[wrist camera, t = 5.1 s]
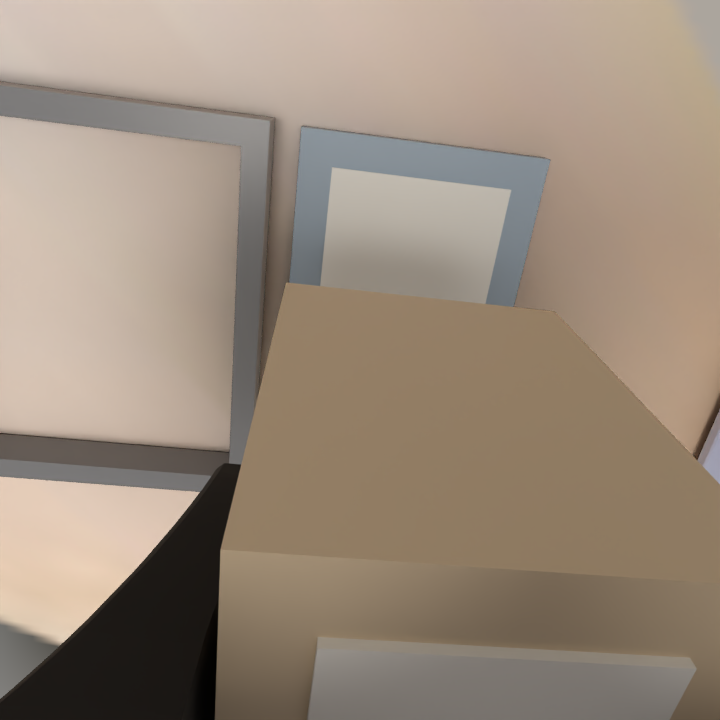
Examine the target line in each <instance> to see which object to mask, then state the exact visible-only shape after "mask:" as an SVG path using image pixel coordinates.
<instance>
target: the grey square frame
mask: <svg viewBox="0 0 720 720" xmlns="http://www.w3.org/2000/svg"><path fill="white" fill-rule="evenodd" d="M0 116H8V117H15V118H23V119H31V120H39V121H47V122H55V123H63V124H70V125H78V126H86V127H94V128H102V129H110V130H118V131H125V132H133V133H141V134H149V135H157V136H165V137H173V138H180V139H188V140H196V141H204V142H212V143H220V144H228V145H235V146H241V165H240V192H239V218H238V245H237V271H236V297H235V324H234V350H233V377H232V403H231V430H230V453H226V452H214V451H202V450H190V449H178V448H166V447H154V446H142V445H130V444H118V443H106V442H94V441H82V440H70V439H58V438H46V437H33V436H21V435H9V434H0V476H1V477H14V478H27V479H40V480H52V481H65V482H78V483H91V484H104V485H117V486H130V487H143V488H156V489H169V490H182V491H195V492H201V490H202V489H203V488H204V486H205V485H206V483H207V482H208V481H209V479H210V478H211V476H212V475H213V473H214V472H215V470H216V469H217V468H218V467H220V466H221V465H222V464H224V463H229V464H242V460H243V456H244V452H245V448H246V443H247V439H248V435H249V431H250V427H251V423H252V419H253V415H254V411H255V407H256V403H257V399H258V395H259V381H260V364H261V347H262V331H263V314H264V297H265V280H266V264H267V247H268V230H269V213H270V197H271V180H272V163H273V146H274V130H275V118H273V117H265V116H258V115H250V114H242V113H235V112H227V111H220V110H212V109H205V108H197V107H189V106H182V105H174V104H167V103H159V102H152V101H144V100H136V99H129V98H121V97H114V96H106V95H98V94H91V93H83V92H76V91H68V90H61V89H53V88H45V87H38V86H30V85H23V84H15V83H8V82H0Z"/></svg>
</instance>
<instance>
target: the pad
mask: <svg viewBox="0 0 720 720" xmlns="http://www.w3.org/2000/svg"><path fill="white" fill-rule="evenodd" d="M549 163H550V159H547V158H543V157H535V156H528V155H520V154H512V153H505V152H497V151H489V150H482V149H474V148H467V147H459V146H451V145H444V144H436V143H429V142H421V141H413V140H406V139H398V138H390V137H383V136H375V135H368V134H360V133H352V132H345V131H337V130H330V129H322V128H314V127H307V126H302V127H301V139H300V152H299V165H298V177H297V190H296V203H295V216H294V229H293V242H292V255H291V268H290V280H289V283H296V284H305V285H315V286H324V287H333V288H342V289H352V290H361V291H370V292H379V293H389V294H398V295H407V296H416V297H426V298H435V299H444V300H454V301H463V302H472V303H481V304H491V305H500V306H509V307H514V304H515V300H516V296H517V292H518V288H519V284H520V280H521V276H522V272H523V268H524V264H525V260H526V256H527V251H528V247H529V243H530V239H531V235H532V231H533V227H534V223H535V219H536V215H537V211H538V207H539V203H540V199H541V195H542V191H543V187H544V183H545V179H546V175H547V171H548V167H549Z"/></svg>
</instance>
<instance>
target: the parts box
mask: <svg viewBox="0 0 720 720" xmlns="http://www.w3.org/2000/svg"><path fill="white" fill-rule="evenodd" d="M215 720H720V484H719V483H718V482H717V481H716V480H715V479H714V478H713V477H712V476H711V475H710V473H709V472H708V471H707V470H706V469H705V468H704V467H703V466H702V465H701V464H700V463H699V462H698V461H697V460H696V459H695V458H694V457H693V456H692V455H691V454H690V453H689V451H688V450H687V449H686V448H685V447H684V446H683V445H682V444H681V443H680V442H679V441H678V440H677V439H676V438H675V437H674V436H673V435H672V434H671V433H670V432H669V431H668V429H667V428H666V427H665V426H664V425H663V424H662V423H661V422H660V421H659V420H658V419H657V418H656V417H655V416H654V415H653V414H652V413H651V412H650V411H649V410H648V409H647V407H646V406H645V405H644V404H643V403H642V402H641V401H640V400H639V399H638V398H637V397H636V396H635V395H634V394H633V393H632V392H631V391H630V390H629V389H628V388H627V387H626V385H625V384H624V383H623V382H622V381H621V380H620V379H619V378H618V377H617V376H616V375H615V374H614V373H613V372H612V371H611V370H610V369H609V368H608V367H607V366H606V365H605V363H604V362H603V361H602V360H601V359H600V358H599V357H598V356H597V355H596V354H595V353H594V352H593V351H592V350H591V349H590V348H589V347H588V346H587V345H586V344H585V343H584V342H583V340H582V339H581V338H580V337H579V336H578V335H577V334H576V333H575V332H574V331H573V330H572V329H571V328H570V327H569V326H568V325H567V324H566V323H565V322H564V321H563V320H562V318H561V317H560V316H559V315H558V314H557V313H556V312H555V311H546V310H537V309H528V308H518V307H509V306H500V305H491V304H481V303H472V302H463V301H454V300H444V299H435V298H426V297H416V296H407V295H398V294H389V293H379V292H370V291H361V290H352V289H342V288H333V287H324V286H315V285H305V284H296V283H287V282H286V285H285V289H284V293H283V297H282V301H281V305H280V309H279V313H278V317H277V321H276V325H275V329H274V333H273V338H272V342H271V346H270V350H269V354H268V358H267V362H266V366H265V370H264V374H263V378H262V382H261V386H260V390H259V395H258V399H257V403H256V407H255V411H254V415H253V419H252V423H251V427H250V431H249V435H248V439H247V443H246V448H245V452H244V456H243V460H242V464H241V468H240V472H239V476H238V480H237V484H236V488H235V492H234V496H233V501H232V505H231V509H230V513H229V517H228V521H227V525H226V529H225V533H224V537H223V541H222V545H221V549H220V579H219V609H218V639H217V670H216V700H215Z"/></svg>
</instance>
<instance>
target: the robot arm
mask: <svg viewBox="0 0 720 720" xmlns="http://www.w3.org/2000/svg"><path fill="white" fill-rule="evenodd" d="M697 461H698V462H699V463H700V464H701V465H702V466H703V467H704V468H705V469H706V470H707V471H708V472H709V473H710V475H711V476H712V477H713V478H714V479H715V480H716V481H717V482H718V483H719V484H720V410H719V412H718V415H717V417H716V419H715V421H714V424H713V426H712V428H711V430H710V433H709V435H708V437H707V440H706V442H705V444H704V446H703V449H702V451H701V453H700V455H699V458H698V460H697ZM240 468H241V464H229V463H224V464H222V465H221V466H220V467H218V468H217V469H216V470H215V472H214V473H213V475H212V476H211V478H210V479H209V481H208V482H207V483H206V485H205V486H204V488H203V489H202V490H201V492H200V493H199V494H198V496H197V497H196V498H195V500H194V501H193V502H192V504H191V505H190V506H189V507H188V509H187V510H186V511H185V513H184V514H183V515H182V516H181V518H180V519H179V520H178V521H177V523H176V524H175V525H174V526H173V527H172V528H171V530H170V531H169V532H168V533H167V534H166V535H165V537H164V538H163V539H162V540H161V541H160V542H159V544H158V545H157V546H156V547H155V548H154V549H153V551H152V552H151V553H150V554H149V555H148V556H147V558H146V559H145V560H144V561H143V562H142V563H141V564H140V565H139V566H138V568H137V569H136V570H135V571H134V572H133V573H132V574H131V575H130V576H129V577H128V578H127V579H126V580H125V581H124V582H123V583H122V584H121V585H120V586H119V587H118V589H117V590H116V591H115V592H114V593H113V594H112V595H111V596H110V597H109V598H108V599H107V600H106V601H105V602H104V603H103V604H102V605H101V606H100V607H99V608H98V609H97V610H96V611H95V612H94V613H93V614H92V615H91V616H90V617H89V618H88V619H87V620H86V621H85V622H84V623H83V624H82V625H81V626H80V627H79V628H78V629H77V630H76V631H75V632H74V633H73V634H72V635H71V636H70V637H69V638H68V639H67V640H66V641H65V642H64V643H62V644H61V645H60V646H59V647H58V648H57V649H56V650H55V651H54V652H53V653H52V654H51V655H50V656H48V658H46V659H45V660H44V661H43V662H42V663H41V664H40V665H38V667H36V668H35V669H34V670H33V671H32V672H31V673H30V674H29V675H27V676H26V677H25V678H24V679H23V680H22V681H21V682H19V683H18V684H17V685H16V686H15V687H14V688H13V689H12V690H10V691H9V692H8V693H7V694H6V695H5V696H3V697H2V698H1V699H0V720H215V700H216V670H217V639H218V609H219V579H220V549H221V545H222V541H223V537H224V533H225V529H226V525H227V521H228V517H229V513H230V509H231V505H232V501H233V496H234V492H235V488H236V484H237V480H238V476H239V472H240Z"/></svg>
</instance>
